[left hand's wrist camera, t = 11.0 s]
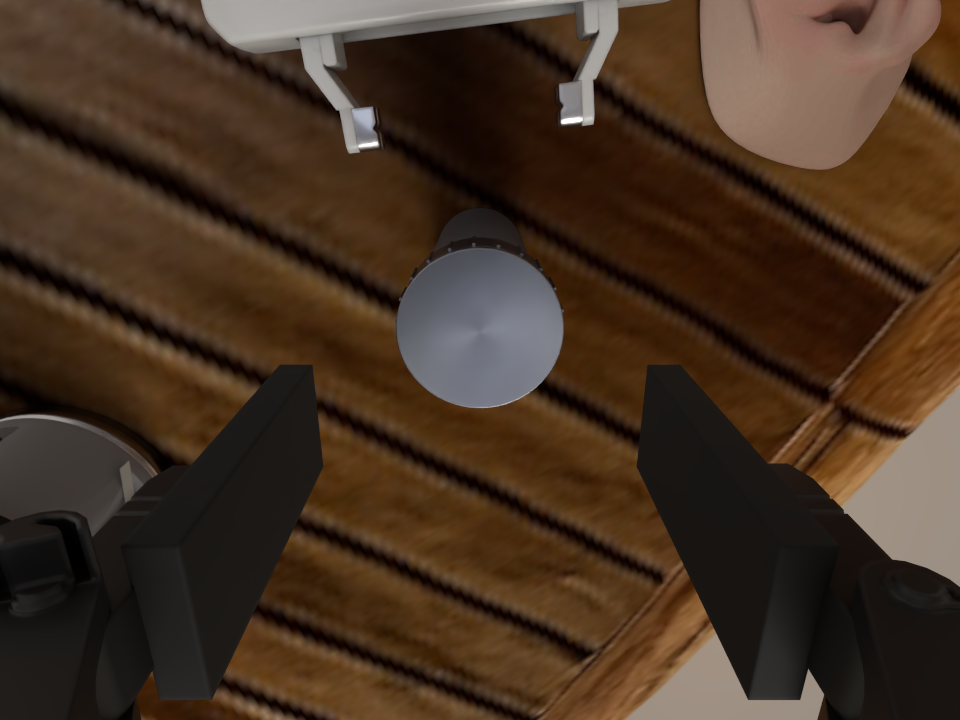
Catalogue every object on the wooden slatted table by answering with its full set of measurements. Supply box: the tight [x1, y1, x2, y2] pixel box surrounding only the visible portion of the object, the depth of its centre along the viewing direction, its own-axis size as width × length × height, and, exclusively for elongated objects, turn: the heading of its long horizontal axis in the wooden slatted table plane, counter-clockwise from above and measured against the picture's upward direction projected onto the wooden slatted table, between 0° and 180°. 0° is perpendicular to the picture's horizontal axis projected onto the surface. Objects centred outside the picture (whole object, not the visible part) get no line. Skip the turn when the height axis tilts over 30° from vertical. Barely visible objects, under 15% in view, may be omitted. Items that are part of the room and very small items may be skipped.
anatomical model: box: [700, 0, 941, 170], centre depth 29 cm, size 13×4×12 cm
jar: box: [433, 208, 527, 253], centre depth 28 cm, size 5×5×15 cm
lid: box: [395, 236, 564, 408], centre depth 21 cm, size 6×6×2 cm
